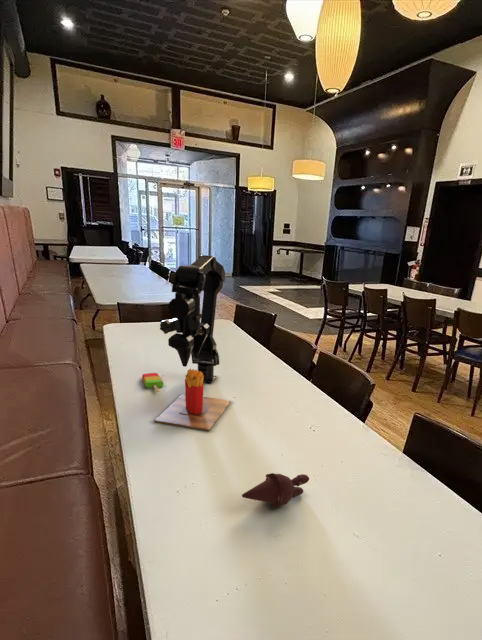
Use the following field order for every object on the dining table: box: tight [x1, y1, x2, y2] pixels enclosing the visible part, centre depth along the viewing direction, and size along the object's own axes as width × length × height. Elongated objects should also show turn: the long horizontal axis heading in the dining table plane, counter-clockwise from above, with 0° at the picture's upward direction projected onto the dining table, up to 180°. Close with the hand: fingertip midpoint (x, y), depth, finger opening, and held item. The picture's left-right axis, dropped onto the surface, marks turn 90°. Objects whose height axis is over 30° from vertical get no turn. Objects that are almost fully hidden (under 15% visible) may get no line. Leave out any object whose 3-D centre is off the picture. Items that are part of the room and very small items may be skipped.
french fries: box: [184, 368, 205, 414], centre depth 120 cm, size 8×4×12 cm, turn 32°
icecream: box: [241, 472, 310, 509], centre depth 85 cm, size 7×7×15 cm
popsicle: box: [141, 372, 164, 393], centre depth 138 cm, size 6×15×2 cm, turn 25°
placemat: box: [154, 393, 231, 432], centre depth 123 cm, size 20×16×1 cm
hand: (190, 361), depth 126 cm, fingers open, 9 cm apart
